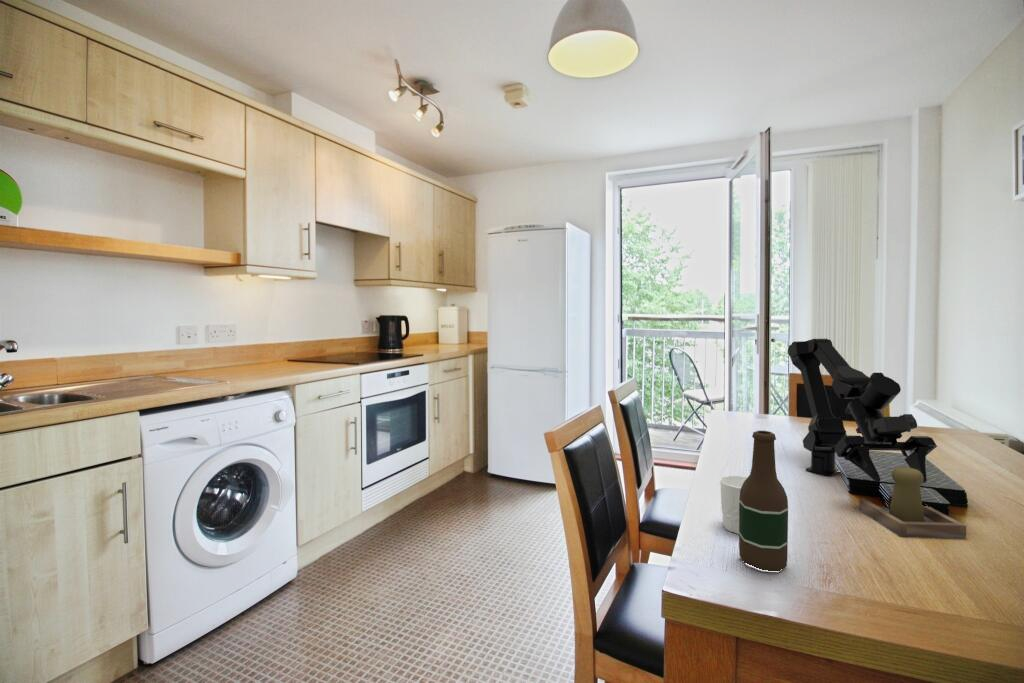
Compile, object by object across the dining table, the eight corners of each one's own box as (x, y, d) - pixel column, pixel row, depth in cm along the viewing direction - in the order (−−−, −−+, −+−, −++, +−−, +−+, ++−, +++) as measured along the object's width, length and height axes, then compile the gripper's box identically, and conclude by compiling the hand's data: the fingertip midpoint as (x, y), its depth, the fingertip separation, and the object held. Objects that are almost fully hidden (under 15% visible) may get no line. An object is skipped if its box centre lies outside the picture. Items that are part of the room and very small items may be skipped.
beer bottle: (786, 578, 80) (788, 439, 79) (736, 566, 84) (737, 434, 83) (787, 558, 87) (789, 430, 85) (741, 548, 91) (742, 425, 90)
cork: (932, 523, 99) (934, 471, 98) (910, 526, 97) (911, 474, 97) (902, 511, 105) (903, 462, 104) (881, 514, 103) (882, 465, 103)
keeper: (859, 509, 107) (859, 498, 107) (916, 511, 106) (916, 499, 106) (900, 536, 94) (900, 524, 94) (965, 538, 93) (966, 525, 93)
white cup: (758, 522, 102) (758, 477, 101) (764, 539, 94) (765, 490, 94) (718, 518, 104) (718, 473, 104) (721, 533, 97) (722, 486, 96)
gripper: (842, 400, 107) (873, 463, 97) (932, 401, 105) (972, 465, 95) (823, 426, 116) (849, 487, 105) (905, 427, 114) (940, 488, 103)
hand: (901, 481), depth 102 cm, fingers open, 9 cm apart
